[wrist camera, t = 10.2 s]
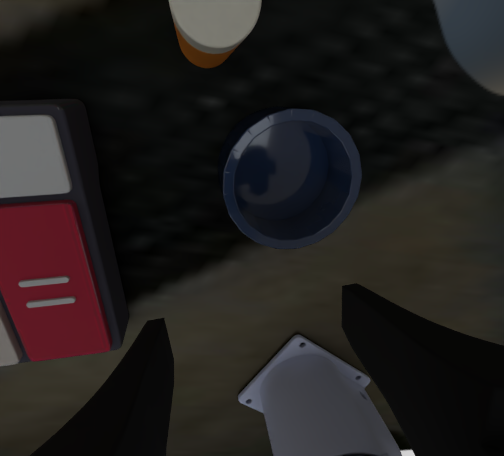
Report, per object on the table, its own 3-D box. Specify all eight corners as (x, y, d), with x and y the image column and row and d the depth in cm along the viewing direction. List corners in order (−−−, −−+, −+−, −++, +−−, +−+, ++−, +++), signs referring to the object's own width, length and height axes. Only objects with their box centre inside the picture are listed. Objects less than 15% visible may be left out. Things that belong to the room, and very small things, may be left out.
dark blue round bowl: (356, 159, 22) (388, 171, 19) (281, 245, 24) (298, 272, 20) (271, 78, 20) (289, 73, 16) (193, 180, 21) (193, 198, 17)
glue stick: (243, 35, 18) (280, -10, 11) (211, 79, 19) (223, 68, 11) (199, -8, 17) (206, -92, 10) (166, 41, 18) (147, -1, 10)
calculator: (-77, 386, 19) (-249, 113, 13) (-32, 334, 23) (-147, 105, 17) (121, 359, 21) (55, 104, 14) (132, 314, 24) (84, 98, 18)
